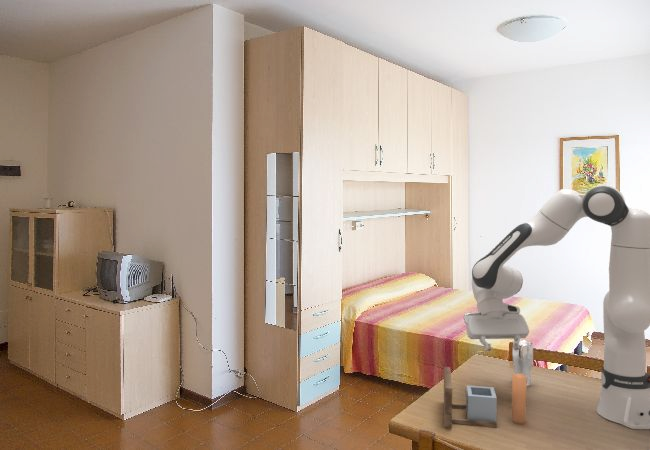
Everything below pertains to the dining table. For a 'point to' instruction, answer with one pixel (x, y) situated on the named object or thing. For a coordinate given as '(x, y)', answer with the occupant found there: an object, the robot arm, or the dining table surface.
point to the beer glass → (523, 359)
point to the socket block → (481, 403)
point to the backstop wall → (456, 406)
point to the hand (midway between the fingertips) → (503, 349)
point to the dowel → (519, 398)
